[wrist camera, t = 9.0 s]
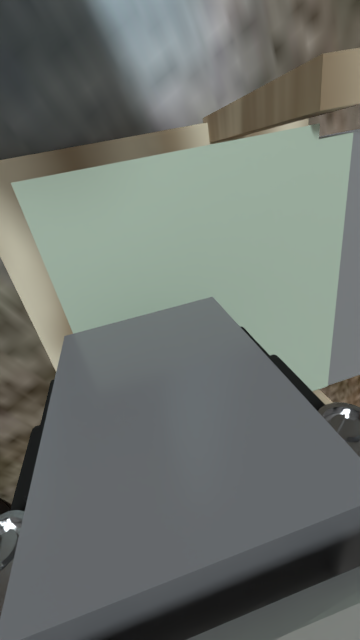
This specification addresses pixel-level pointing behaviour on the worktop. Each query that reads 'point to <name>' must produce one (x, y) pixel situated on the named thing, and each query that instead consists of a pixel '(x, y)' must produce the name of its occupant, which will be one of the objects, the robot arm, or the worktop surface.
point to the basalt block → (176, 486)
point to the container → (3, 507)
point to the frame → (223, 125)
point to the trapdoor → (216, 241)
